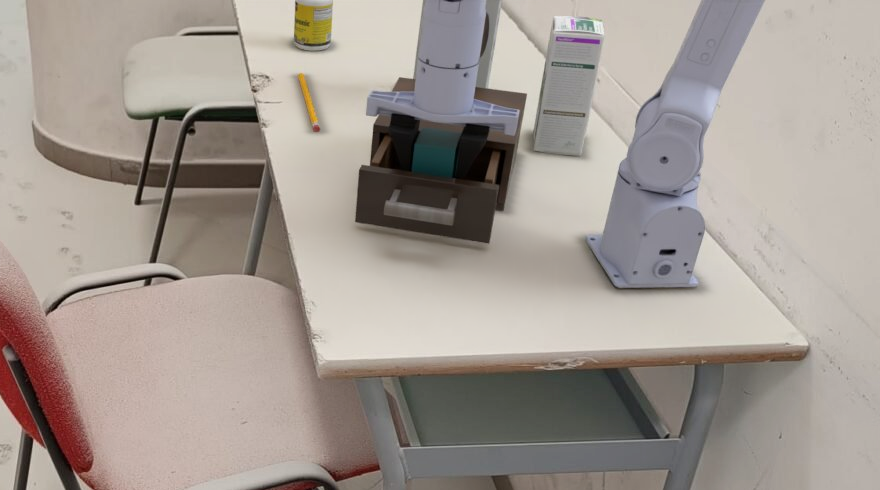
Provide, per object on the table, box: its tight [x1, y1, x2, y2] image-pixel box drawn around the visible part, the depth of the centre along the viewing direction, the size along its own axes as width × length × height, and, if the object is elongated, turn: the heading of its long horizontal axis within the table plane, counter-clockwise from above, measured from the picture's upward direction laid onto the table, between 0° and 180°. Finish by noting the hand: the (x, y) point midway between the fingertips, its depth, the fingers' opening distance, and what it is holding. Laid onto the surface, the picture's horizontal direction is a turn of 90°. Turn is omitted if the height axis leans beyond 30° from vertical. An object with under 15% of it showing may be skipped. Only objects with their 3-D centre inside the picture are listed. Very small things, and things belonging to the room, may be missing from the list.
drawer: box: [354, 133, 502, 245], centre depth 102 cm, size 18×13×6 cm
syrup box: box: [532, 15, 606, 157], centre depth 116 cm, size 6×6×14 cm
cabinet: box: [369, 76, 528, 212], centre depth 111 cm, size 15×15×8 cm
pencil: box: [297, 72, 321, 133], centre depth 129 cm, size 1×18×1 cm, turn 5°
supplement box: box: [412, 0, 503, 89], centre depth 126 cm, size 10×9×17 cm
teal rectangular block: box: [412, 127, 462, 178], centre depth 101 cm, size 4×4×7 cm
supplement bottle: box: [293, 0, 334, 52], centre depth 144 cm, size 5×5×10 cm
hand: (431, 189), depth 102 cm, fingers open, 4 cm apart
